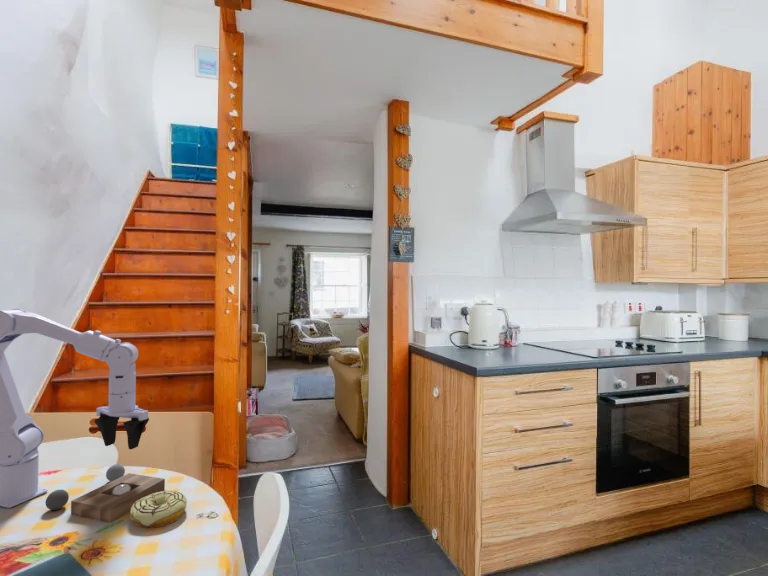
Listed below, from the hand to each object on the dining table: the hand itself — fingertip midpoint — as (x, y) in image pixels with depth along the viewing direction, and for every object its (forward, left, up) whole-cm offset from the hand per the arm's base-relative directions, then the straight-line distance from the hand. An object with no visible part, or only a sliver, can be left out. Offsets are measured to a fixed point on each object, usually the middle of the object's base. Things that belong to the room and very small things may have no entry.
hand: (121, 446), depth 100 cm
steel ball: (+8, -7, -7) cm, 13 cm away
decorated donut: (+21, -9, -10) cm, 25 cm away
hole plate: (+8, -7, -9) cm, 14 cm away
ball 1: (-3, -13, -7) cm, 15 cm away
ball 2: (-3, +1, -7) cm, 8 cm away
